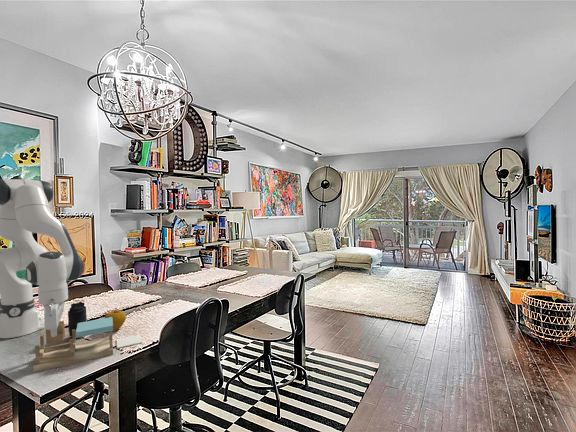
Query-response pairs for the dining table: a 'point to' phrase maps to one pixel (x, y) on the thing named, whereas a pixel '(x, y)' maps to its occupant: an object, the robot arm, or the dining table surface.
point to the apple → (117, 318)
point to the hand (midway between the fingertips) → (55, 332)
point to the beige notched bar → (71, 352)
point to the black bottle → (76, 316)
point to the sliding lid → (94, 327)
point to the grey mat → (128, 341)
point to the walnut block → (59, 336)
